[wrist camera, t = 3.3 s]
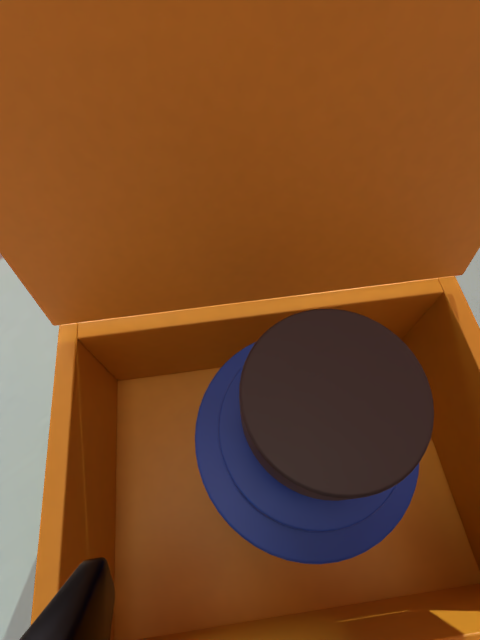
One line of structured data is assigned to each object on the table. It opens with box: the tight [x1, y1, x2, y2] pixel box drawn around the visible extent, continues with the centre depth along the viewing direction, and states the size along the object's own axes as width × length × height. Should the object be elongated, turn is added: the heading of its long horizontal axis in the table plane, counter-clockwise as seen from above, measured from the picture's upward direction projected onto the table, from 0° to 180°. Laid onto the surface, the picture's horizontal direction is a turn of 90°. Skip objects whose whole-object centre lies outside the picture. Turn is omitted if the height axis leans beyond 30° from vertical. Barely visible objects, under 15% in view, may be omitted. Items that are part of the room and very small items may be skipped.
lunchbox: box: [31, 276, 480, 640], centre depth 14 cm, size 11×15×6 cm
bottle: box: [195, 309, 434, 564], centre depth 11 cm, size 5×5×12 cm
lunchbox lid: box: [0, 0, 480, 325], centre depth 10 cm, size 12×15×4 cm
